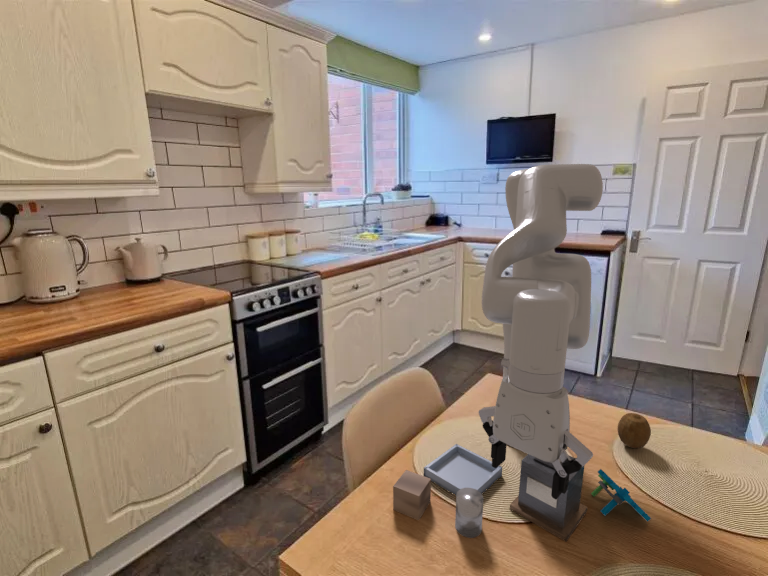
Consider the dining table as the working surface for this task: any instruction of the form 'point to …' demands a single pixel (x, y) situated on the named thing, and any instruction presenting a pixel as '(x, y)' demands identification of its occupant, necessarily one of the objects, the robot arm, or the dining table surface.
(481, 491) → the tray
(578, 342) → the robot arm
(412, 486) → the block
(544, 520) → the box with rectangular openings
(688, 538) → the dining table surface
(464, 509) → the metal cylinder
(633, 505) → the blue green-pegged part
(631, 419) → the fruit
